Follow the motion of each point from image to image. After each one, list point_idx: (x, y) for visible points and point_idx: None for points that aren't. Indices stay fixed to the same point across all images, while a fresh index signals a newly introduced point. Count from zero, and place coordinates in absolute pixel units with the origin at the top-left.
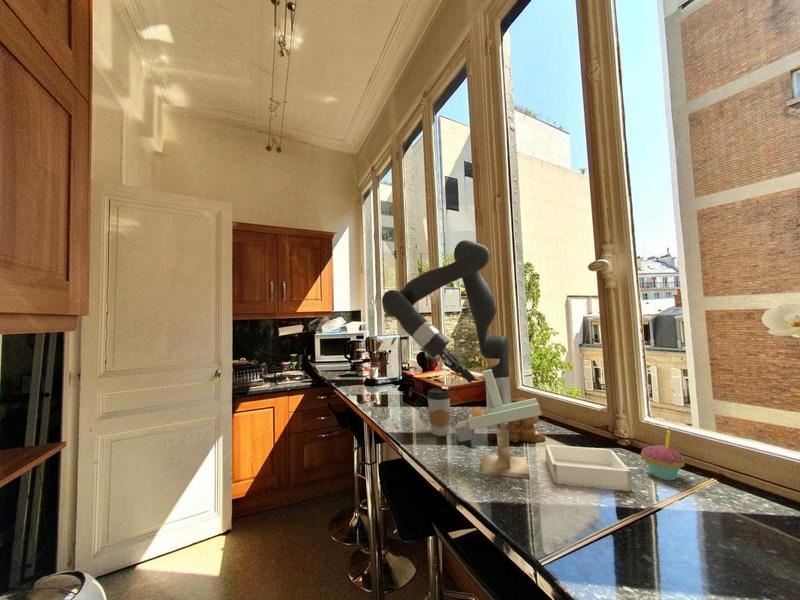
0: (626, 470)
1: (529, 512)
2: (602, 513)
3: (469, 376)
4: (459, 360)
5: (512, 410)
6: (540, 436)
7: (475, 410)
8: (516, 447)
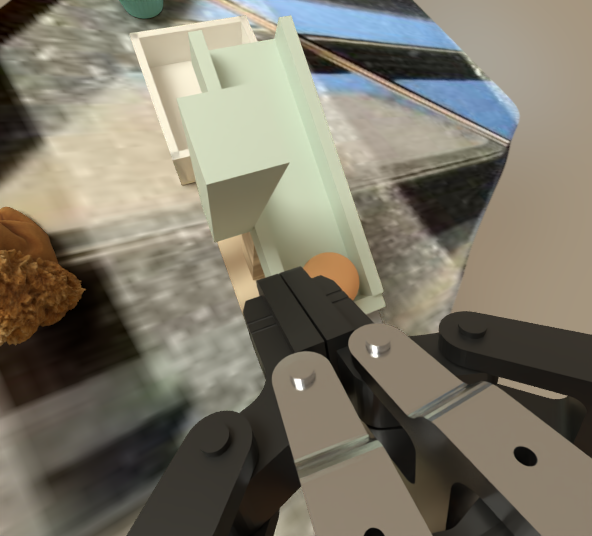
0: (244, 20)
1: (417, 174)
2: (347, 88)
3: (339, 294)
4: (458, 421)
5: (325, 122)
6: (15, 216)
7: (356, 277)
8: (117, 272)
